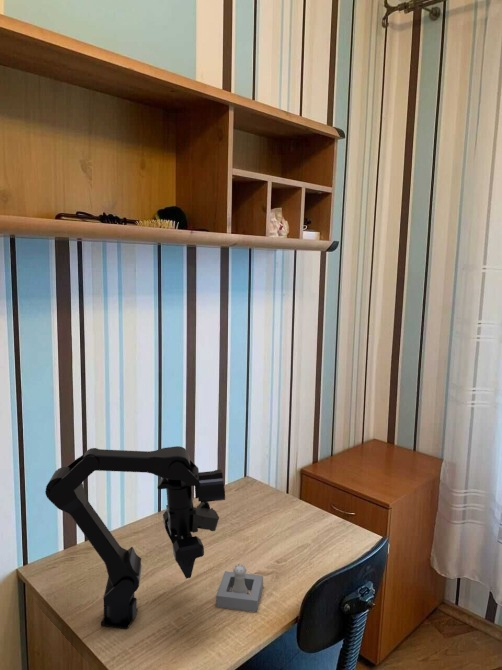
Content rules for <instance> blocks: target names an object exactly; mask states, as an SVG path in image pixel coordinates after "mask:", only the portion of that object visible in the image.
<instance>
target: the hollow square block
mask: <svg viewBox="0 0 502 670" xmlns="http://www.w3.org/2000/svg"><path fill="white" fill-rule="evenodd" d="M234 575H235V573H234V572H233V571H227V570H224V572H223V575H222V579H221V581H220V584H219V587H218V589H217V592H216V595H215V608H221V609H228V610H233V611H234V610H235V611H242V612H249V613H258V610H259V605H260V601H261V597H262V592H263V587H264V576H263V575H260V574H252V573H245V585H246V588H247V589H248V591H250V594H249V593H248V594H242V593H234V592H231V589H232V588H233V586H234V582H235V578H234Z"/></svg>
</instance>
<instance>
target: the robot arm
mask: <svg viewBox="0 0 502 670" xmlns="http://www.w3.org/2000/svg"><path fill="white" fill-rule="evenodd" d="M95 471H98V472H126V473H147V474H151V475H155V476H157V477H158V478H159V480H158V481H157V490H166V491H165V492H166V500H167V503H166V510H165V511H164V512H163V514H162V521H163V525H164V528H165V531H166V534H167V535H168V538H169V539H170V541H171V544H172V551H173V557H174V560H175V562H176V563H177V565H178V566H179V569H180V570H181V572H182V574H183V575H184V577H185V579H186V580H187V579H190V578H191V577H192V574H193V570H194V565H195V562H196V560H197V559H198V558H201V557H203V556H204V555H205V547H204V545H203V542H202V540H201V538H199V536H196V535H192V533H198V532H199V530H205V531H206V530H207V531H210V532H215V531H216V530H217V528H218V527H217V526H218V523H219V520H220V516H219V515H218V512H217V511H216V510H215V509H214V508H213V507H211V506H210V502H217V501H218V502H219V501H225V500H226V490H225V489H226V488H225V483H224V475H223V470H222V469H215V470H212V471H211V470H210V471H202V472H201V471H199V467H198V466H197V464H195V463H194V462H193V460H192V459H191V457H190V453H189V452H188V451H187V449H186V448H184V447H183V446H169V447H162V448H160V449H156V450H151V451H148V450H147V451H143V450H123V449H121V450H120V449H100V448H97V447H92V448H91V447H90V448H89V449H87V450H86V451H85V453H83V454H81V456H79V457H77V458H76V459H74V460H73V461H72V462H71V463H70V464H68V465H67V466H63V467H62V466H61V467H59V468H58V469H57V470H55V472H54V473H53V474H52V476H51V478H50V479H49V481H48V482H47V485H46V486H45V496H46V498H47V500H49V502H51V503H52V504H53V505H54V506H55V508H57V509H58V510H60V511H62V512H64V513H66V514H68V515H70V516H69V517H71V519H72V520H73V521H74V522H75V523H76V525H77V526H78V528H79V530H80V531H81V532H82V534H83V535H84V537H85V538H86V539H87V540H88V542H89V543H90V545H91V546H92V547H93V548H94V550H95V552H96V553H97V554H98V556H99V557H100V559H101V560H102V561H103V563H104V565H105V568H106V572H107V580H106V585H105V590H104V594H103V618H102V620H101V621H100V626H102V625H104V626H105V627H108V628H109V627H110V628H117V629H118V628H119V629H125V630H127V629H128V628H129V627H130V625H131V623H132V622H133V621H134V619H135V618H136V616H137V613H138V608H137V607H138V606H137V603H138V602H137V601H138V600H137V598H136V596H135V592H137V590H138V588H140V587H139V586H140V581H141V580H140V579H141V575H142V574H141V573H142V557H140V556H139V555H138V554H137V553H136V551H135V549H134V548H135V547H133V546H131V547H130V548H128V549H126V548H124V547H122V546H121V545H120V544H119V543H118V541H117V540H116V538H115V536H114V535H113V534H112V533H111V531H110V530H109V528H108V527H107V525H106V524H105V522H104V521H103V519H102V518H101V517H100V516H99V515H98V512H97V511H96V510H95V509H94V507H93V505H92V504H91V503H90V501H89V500H88V497H87V495H86V490H85V487H84V484H83V483H84V481H85V480H87V479H88V477H90V475H92V474H93V473H94V472H95ZM193 487H194V495H195V499H198V501H197V502H199V504H198V505H196V506H195V507H194V502H193V501H194V499H193ZM104 626H103V627H104Z"/></svg>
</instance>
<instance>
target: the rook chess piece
mask: <svg viewBox="0 0 502 670" xmlns="http://www.w3.org/2000/svg"><path fill="white" fill-rule="evenodd" d="M247 571H248V570H247V568H246V566H245V565H244V564H241V565H240V563H238V564H236V565H235V566H234V568H233V570H232V572H234V573H235V575H234V578H235V582H234V586H233V588H230V592H234V593H242V594H249V590H248V589H247V588H246V585H245V574H247Z"/></svg>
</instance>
